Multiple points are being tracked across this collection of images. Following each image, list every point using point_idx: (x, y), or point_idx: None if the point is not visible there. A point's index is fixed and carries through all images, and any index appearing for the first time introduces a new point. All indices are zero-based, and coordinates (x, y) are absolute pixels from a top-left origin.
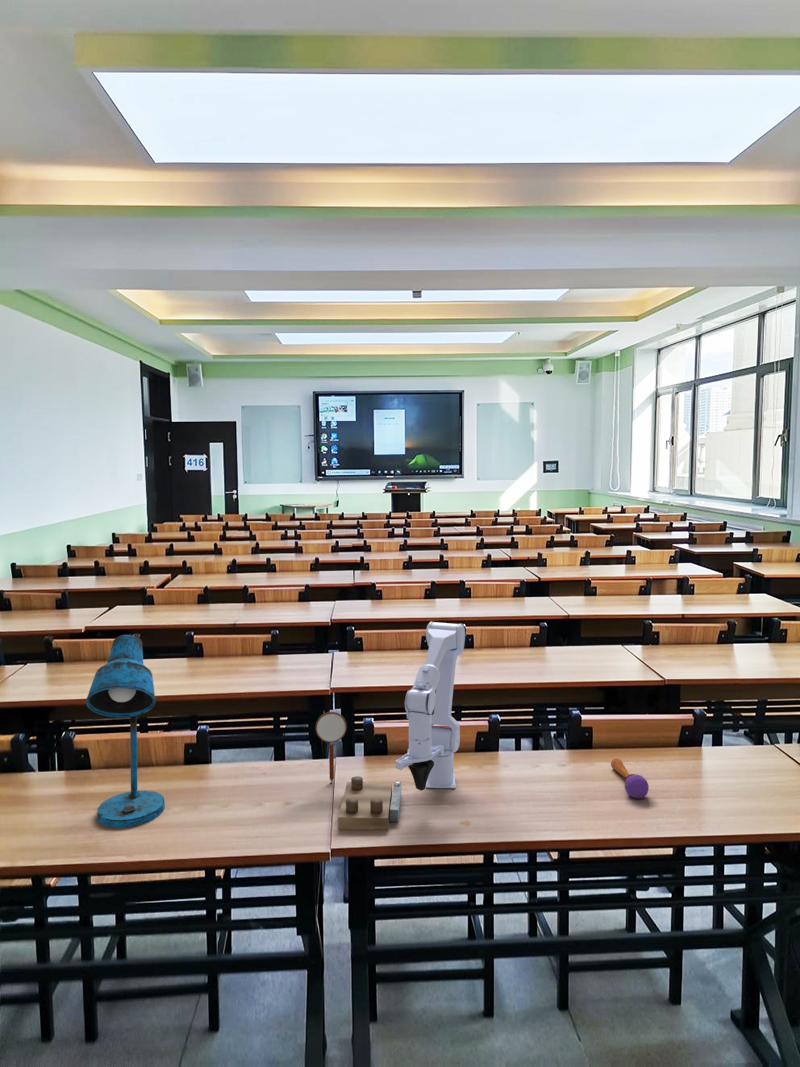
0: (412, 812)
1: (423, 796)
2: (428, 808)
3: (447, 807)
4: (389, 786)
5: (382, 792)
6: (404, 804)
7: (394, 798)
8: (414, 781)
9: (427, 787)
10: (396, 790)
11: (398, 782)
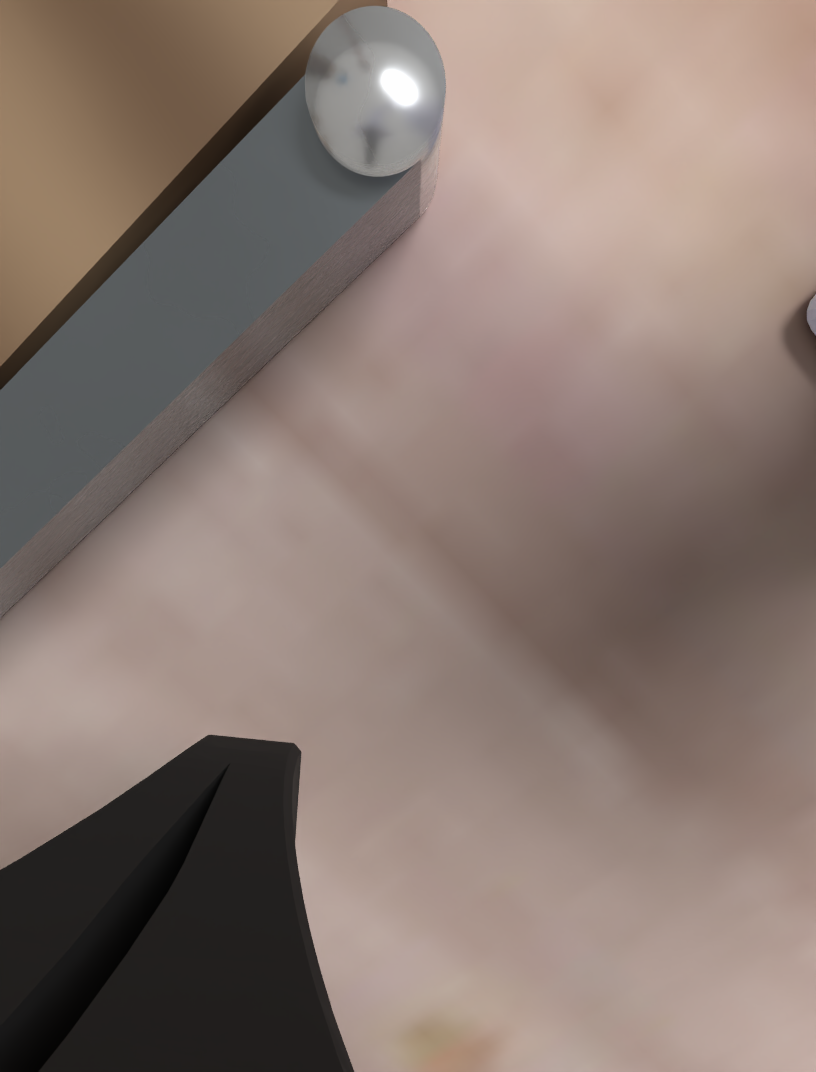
0: (234, 601)
1: (603, 433)
2: (421, 662)
3: (574, 782)
4: (245, 41)
5: (15, 126)
6: (297, 408)
7: (4, 452)
8: (133, 791)
9: (813, 323)
10: (200, 277)
11: (380, 110)
